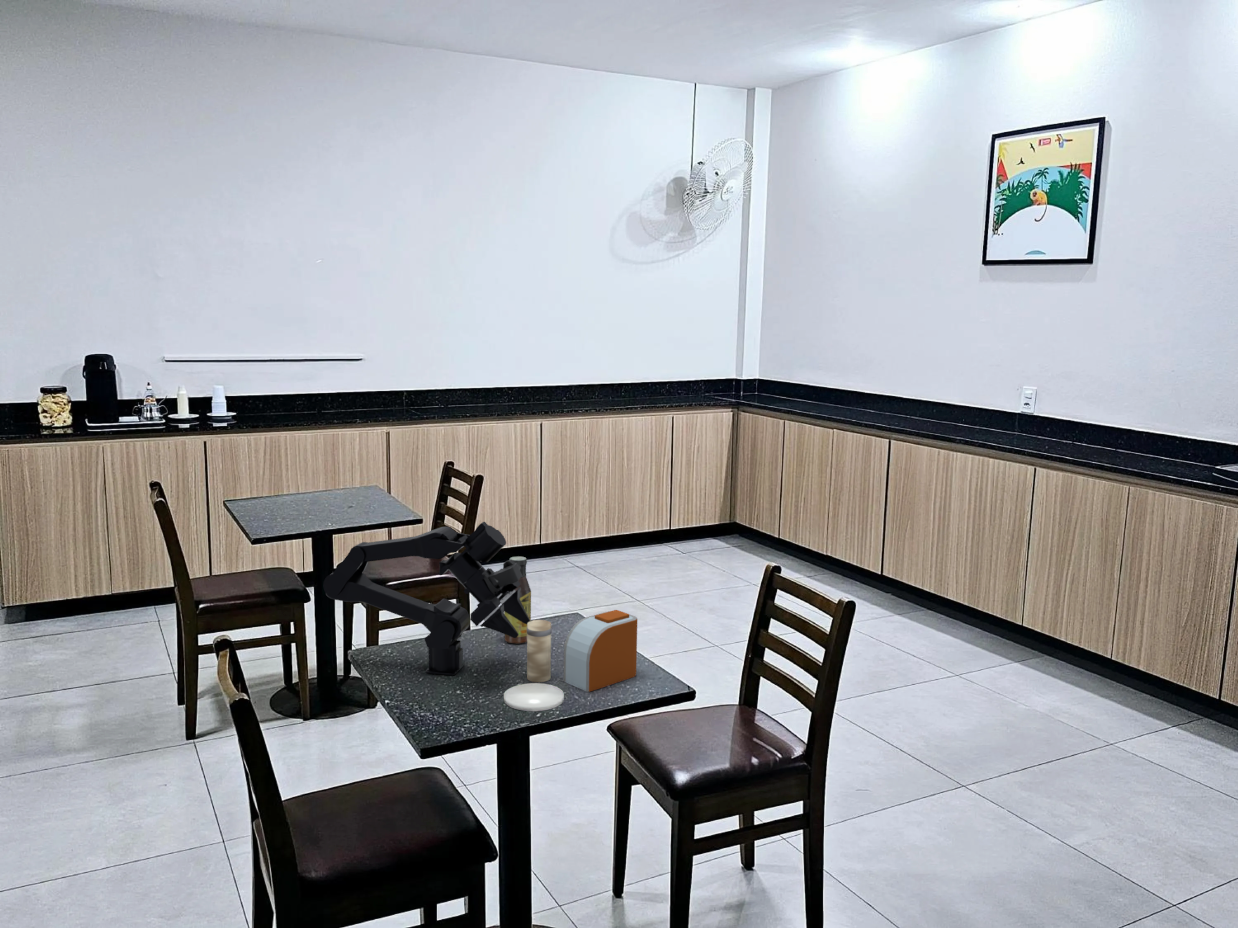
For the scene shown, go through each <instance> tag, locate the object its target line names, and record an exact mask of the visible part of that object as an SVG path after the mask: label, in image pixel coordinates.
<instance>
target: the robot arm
mask: <svg viewBox="0 0 1238 928" xmlns="http://www.w3.org/2000/svg"><path fill="white" fill-rule="evenodd" d="M506 544H507V540H506V538H505V536H504V534H503V533H502V532H501V531H500V530H499V529H496V528H495V527H494V526H491V525H489V524H487V522H486V521H482V522H481V523H479V525H477V526H476V528H475V530H474V531H473V532H472V533H470V534H465V533H462V532H458V531H457V532H456V531H455V530H454V529H453V528H452V527H450V526H441V527H437V528H435V529H432V530H429V531H427V532H423V533H421V534H419V535H415V536H409V537H402V538H401V537H400V538H393V539H386V540H378V541H370V542H366V541H362V542H359V543H358V544H356V545H354V546H352V547H351V549H350V550H349V552H348V554H347V555H346V556H345V558H344V559H343V560H342V561H341V562H340V563H339V565H338V566H337V567H336V568H335V570H334V571H332V573H330V574H328V575H326V577H325V578H324V580H323V584H322V587H323V588H322V589H323V591H324V593H325V595H326V596H327V597H328V598H329V599H331V600H336V601H340V602H346V603H347V602H348V603H349V602H350V603H356V602H357V603H364V604H368V605H370V606H372V607H375V608H377V609H380V610H384V611H386V612H389V613H391V614H394V615H397V616H400V617H403V618H405V619H408V620H411V621H413V622H416V623H418V624H420V625H423V626H424V627H425V628H426V629H427V631H428V632H429V633H428V634H427V635H426V636H425V637H424V642H425V645H426V647H427V648H428V649H427V651H428V652H427V653H428V655H427V656H428V667H427V669H425V673H426V674H432V675H433V674H435V675H445V676H446V675H447V676H455V675H456V674H457V673H458V672H459V671H460V670H461V669H462V668H463V666H464V648H463V647H462V646H461V645H462V644H461V643H462V641H461V640H459V638H461V637H462V635H463V633H465V631H466V630H467V629H469V627H470V624H471V622H472V623H473V624H474V625H475V627H478V626H479V625H480V627H481V628H483V627H485V628H487V629H490V630H493V631H496V632H498V633H501V634H504V636H505V635H508V636H510V637H513V638H516V637H517V636H518V635H519V634H518V632H517V631H516V629H515V628H514V627H513V625H512V624H511V623H510V621H509V620H508V618H507V617H506V616H505V614H504V611H505V612H506V613H508V614H510V615H511V616H513V617H514V618H516V619H518V620H519V621H521V622H523V623H525V624H527V623H528V622H530V619H529V617H528V615H527V613H526V611H525V609H524V607H523V605H522V603H521V601H520V590H521V588H519V589H518V590H516V591H515V589H516V588H517V587H518V586H519V585H520V583H519V582H518V581H519V578H520V577H521V578H522V577H523V576H522V574H521V572H520V569H521V566H520V565H518V564H517V563H515V562H514V561H513V560H512V559H511V560H506V561H504V562H503V565H502V566H503V567H502V568H500V569H499V570H497V571H495V570H493V569H492V568H489V567H488V568H485V567H484V566H483V565H482V564H481V563H480V562H483V563H488V562H489V561H490V560H491V559H493V557H494V556H495V555H496V554H497V553H499V552H500V550H501V549H503V548H504V547H505V545H506ZM462 548H465V549H464V550H462V552H459V551H460V550H461V549H462ZM450 554H452V555H451V556H450V557H449V558H448V559H443V558H445V557H447V556H448V555H450ZM408 557H418V558H421V559H429V560H431V559H432V560H441V559H442V560H441V561H439V562H438V564H439V570H438V571H439V572H438V574H439V576H443V575H444V574H446V573H447V572H448V571H449V572H450V573H451V574H452V575H453V577H455V579H457V581H458V582H459V583H460V584H461V585H462V586H463V587H464V590H463V592H464V594H466V595H468V594H469V593H470V594H471V595H472V597H473V598H474V599H475V600H476V601H477V602H478V604H476V606H477V607H476V608H475V609H473V611H472V612H471V613H470V614H469V612H468V610H467V609H466V608H464V607H463V606H462V603H456V602H453V601H450V600H449V599H448V598H442V599H441V600H440V601H439V602H437V603H430V602H426V601H424V600H422V599H418V598H417V597H412V596H410V595H407V594H405V593H402V592H399V591H396V590H394V589H391V588H389V587H385V586H382V585H380V584H377V583H375V582H373V581H372V580H370V578H369V577H367V575H365V573H364V572H365V570H366V569H367V566H368V564H369V562H376V561H384V560H392V559H393V560H394V559H401V558H408Z"/></svg>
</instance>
